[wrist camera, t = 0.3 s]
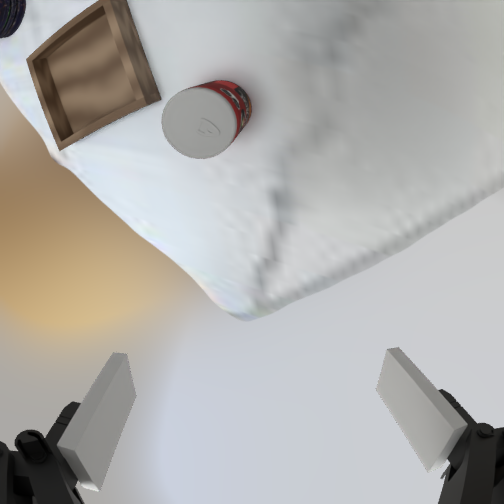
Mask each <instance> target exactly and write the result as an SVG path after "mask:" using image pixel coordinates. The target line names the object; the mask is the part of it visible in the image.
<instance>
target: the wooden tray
mask: <svg viewBox="0 0 504 504" xmlns="http://www.w3.org/2000/svg"><path fill="white" fill-rule="evenodd" d="M26 60H27V64H28V67H29V70H30V74H31V77H32V80H33V83H34V86H35V89H36V92H37V95H38V98H39V101H40V103H41V106H42V109H43V111H44V114H45V117H46V119H47V122H48V124H49V127H50V129H51V132H52V134H53V137H54V139H55V142H56V144H57V146H58V149H59V151H61V150H62V149H64V148H66V147H68V146H69V145H71V144H73V143H75V142H77V141H78V140H80V139H82V138H84V137H85V136H87V135H89V134H91V133H93V132H94V131H96V130H98V129H100V128H102V127H104V126H106V125H108V124H110V123H112V122H114V121H116V120H118V119H120V118H122V117H124V116H126V115H128V114H130V113H132V112H134V111H137V110H139V109H141V108H143V107H145V106H148V105H150V104H152V103H155V102H157V101H159V100H161V97H160V95H159V92H158V89H157V86H156V84H155V81H154V78H153V75H152V73H151V70H150V67H149V64H148V62H147V59H146V56H145V53H144V50H143V48H142V45H141V42H140V39H139V36H138V33H137V30H136V28H135V25H134V22H133V19H132V16H131V13H130V10H129V7H128V4H127V1H126V0H99V1H97V2H96V3H94V4H93V5H91V6H90V7H88V8H87V9H85V10H84V11H83V12H81V13H80V14H79V15H77V16H76V17H75V18H73V19H72V20H71V21H69V22H68V23H67V24H65V25H64V26H63V27H62V28H61V29H59V30H58V31H57V32H56V33H54V34H53V35H52V36H51V37H50V38H49V39H47V40H46V41H45V42H44V43H43V44H42V45H41V46H40V47H39V48H37V49H36V50H35V51H34V52H33V53H32V54H31V55H30V56H29V57H28V58H27V59H26Z"/></svg>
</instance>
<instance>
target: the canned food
mask: <svg viewBox="0 0 504 504" xmlns="http://www.w3.org/2000/svg"><path fill="white" fill-rule="evenodd" d="M250 115H251V104H250V100H249V98H248V96H247V94H246V93H245V92H244V90H243V89H241V88H240V87H239V86H237V85H236V84H234V83H231V82H228V81H222V80H221V81H213V82H209V83H205V84H201V85H198V86H194V87H191V88H188V89H185V90H183V91H181V92H179V93H177V94H176V95H175V96H173V97H172V98H171V99H170V100H169V102H168V103H167V104H166V106H165V108H164V111H163V114H162V129H163V132H164V135H165V137H166V139H167V141H168V142H169V143H170V144H171V146H172V147H173V148H174V149H176V150H177V151H178V152H180V153H181V154H183V155H185V156H188V157H191V158H197V159H205V158H211V157H214V156H216V155H218V154H220V153H221V152H223V151H224V150H226V149H227V148H228V147H229V146H230V144H231V143H232V142H233V141H234V140H235V138H236V137H237V136H238V134H239V133H240V132H241V131H242V129H243V128H244V127H245V125H246V124H247V122H248V121H249V118H250Z"/></svg>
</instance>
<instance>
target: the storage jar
mask: <svg viewBox="0 0 504 504" xmlns="http://www.w3.org/2000/svg"><path fill="white" fill-rule="evenodd" d="M25 8H26V0H0V38H3V37H4V38H5V37H9V36H11V35H12V34H13V33H14V32H15V31H16V30H17V29H18V27H19V26H20V24H21V22H22V19H23V17H24V13H25Z"/></svg>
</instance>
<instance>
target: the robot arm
mask: <svg viewBox="0 0 504 504" xmlns="http://www.w3.org/2000/svg"><path fill="white" fill-rule="evenodd" d="M376 391H377V392H378V394H379V395H380V397H381V398H382V400H383V402H384V403H385V405H386V406H387V408H388V409H389V411H390V412H391V414H392V415H393V417H394V419H395V420H396V422H397V423H398V425H399V427H400V428H401V430H402V431H403V433H404V435H405V436H406V438H407V439H408V441H409V443H410V444H411V446H412V447H413V449H414V451H415V452H416V454H417V455H418V457H419V459H420V460H421V462H422V463H423V465H424V467H425V469H426V470H427V472H428V473H429V472H431V471H434V470H436V469H438V468H441V467H442V466H443V464H444V463H445V461H446V460H447V459H448V460H449V462H450V465H449V466H448V467H447V469H446V470H445V472H444V473H443V475H442V476H441V479H442V478H443V477H444V476H445V475H446V477H445V481H444V484H443V488H442V492H441V495H440V499H439V502H438V504H504V427H503V428H496V429H494V428H493V427H492V426H490V425H489V424H486V423H478V424H477V423H476V422H475V421H474V419H473V418H472V417H471V416H470V415H469V414H468V413H467V412H466V410H465V409H464V408H463V407H461V405H460V404H459V403H458V402H456V399H454V397H453V396H452V395H451V394H449V393H448V392H446V391H444V390H443V389H441V390H437V389H436V388H435V386H434V385H433V384H432V383H431V382H430V381H429V380H428V379H427V378H426V377H425V375H424V374H423V373H422V372H421V371H420V370H419V369H418V368H417V367H416V365H415V364H414V363H413V362H412V361H411V360H410V359H409V358H408V357H407V356H406V355H405V354H404V352H402V350H401V349H400V348H399V347H398V348H391V349H387V350H386V354H385V358H384V362H383V366H382V370H381V374H380V377H379V381H378V384H377V388H376ZM135 398H136V393H135V388H134V384H133V380H132V376H131V371H130V366H129V361H128V356H127V354H123V353H113V354H112V355H111V357H110V358H109V360H108V361H107V363H106V364H105V366H104V367H103V369H102V371H101V372H100V374H99V375H98V377H97V379H96V380H95V382H94V383H93V385H92V386H91V388H90V390H89V392H88V393H87V395H86V396H85V398H84V400H83V401H82V403H77V402H71V403H70V404H69V405H67V406H66V407H65V408H64V409H63V410H62V412H61V414H60V415H59V417H58V418H57V420H56V423H54V425H53V426H52V428H51V429H50V431H49V432H48V434H47V436H46V438H44V436H43V435H42V434H41V433H40V432H39V431H36V430H26V431H23V432H21V433H20V434H18V435H17V437H16V439H15V446H16V448H17V450H18V451H10V450H9V449H8V447H7V446H6V444H5V443H3V442H1V441H0V504H84V502H83V500H82V498H81V496H80V494H79V492H78V490H77V488H76V487H75V486H76V483H77V481H79V482H80V484H81V485H82V486H83V487H84V488H87V489H91V490H94V491H98V492H100V490H101V487H102V485H103V481H104V479H105V476H106V473H107V471H108V468H109V465H110V462H111V459H112V457H113V454H114V451H115V449H116V446H117V444H118V441H119V438H120V436H121V433H122V430H123V428H124V425H125V423H126V421H127V418H128V416H129V413H130V410H131V408H132V406H133V403H134V401H135Z"/></svg>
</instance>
